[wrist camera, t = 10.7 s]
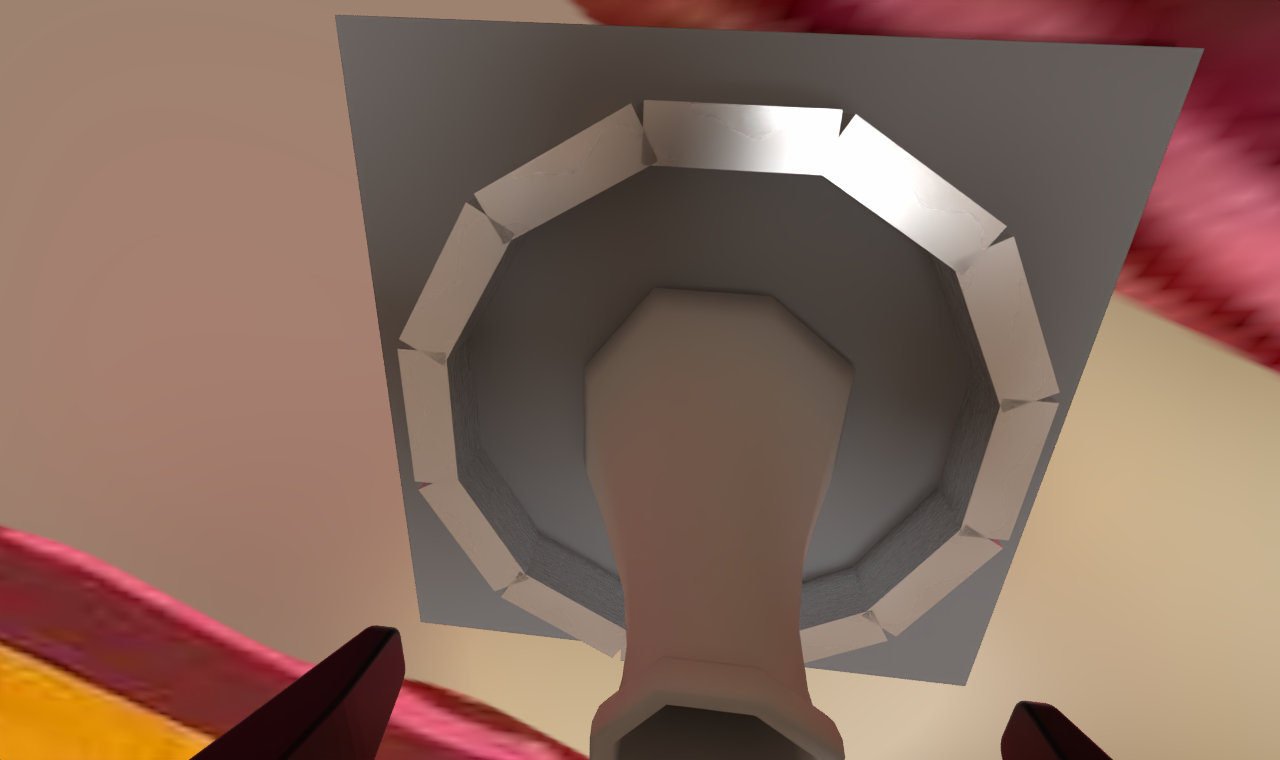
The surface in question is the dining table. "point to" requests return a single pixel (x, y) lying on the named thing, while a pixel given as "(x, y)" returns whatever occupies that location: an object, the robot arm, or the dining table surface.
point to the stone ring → (765, 142)
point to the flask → (712, 522)
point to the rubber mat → (746, 253)
